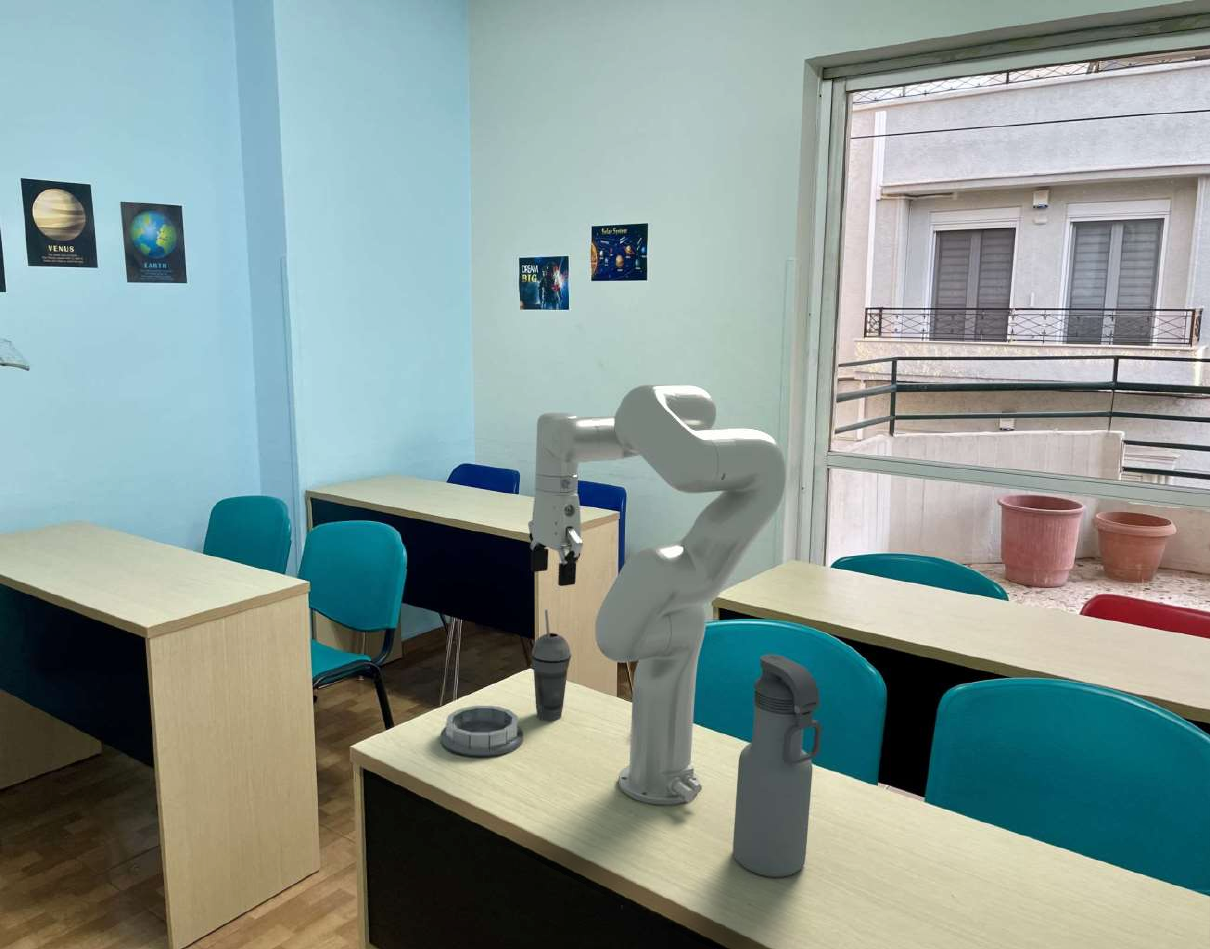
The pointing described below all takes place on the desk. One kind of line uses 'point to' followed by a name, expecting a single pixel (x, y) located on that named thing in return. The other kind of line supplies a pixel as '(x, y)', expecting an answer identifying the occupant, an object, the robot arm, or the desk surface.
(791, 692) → the water bottle
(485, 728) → the base
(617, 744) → the desk surface
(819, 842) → the desk surface
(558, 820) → the desk surface
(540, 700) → the beverage cup
